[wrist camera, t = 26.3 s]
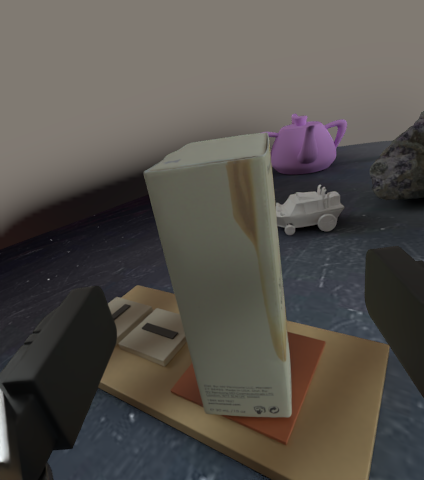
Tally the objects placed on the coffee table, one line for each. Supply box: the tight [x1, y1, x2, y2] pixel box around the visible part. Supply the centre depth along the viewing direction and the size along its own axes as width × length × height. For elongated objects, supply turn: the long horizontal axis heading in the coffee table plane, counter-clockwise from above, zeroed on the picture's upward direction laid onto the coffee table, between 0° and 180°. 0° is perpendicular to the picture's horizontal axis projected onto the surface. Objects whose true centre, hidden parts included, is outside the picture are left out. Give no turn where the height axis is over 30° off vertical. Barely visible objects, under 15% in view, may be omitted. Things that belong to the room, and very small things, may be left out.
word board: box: [98, 285, 389, 480], centre depth 20 cm, size 20×9×1 cm, turn 58°
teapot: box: [262, 114, 347, 174], centre depth 57 cm, size 12×14×9 cm
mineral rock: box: [370, 111, 424, 200], centre depth 37 cm, size 13×11×10 cm
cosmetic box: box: [144, 132, 292, 418], centre depth 15 cm, size 6×4×12 cm
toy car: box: [276, 185, 344, 235], centre depth 35 cm, size 5×8×4 cm, turn 88°
